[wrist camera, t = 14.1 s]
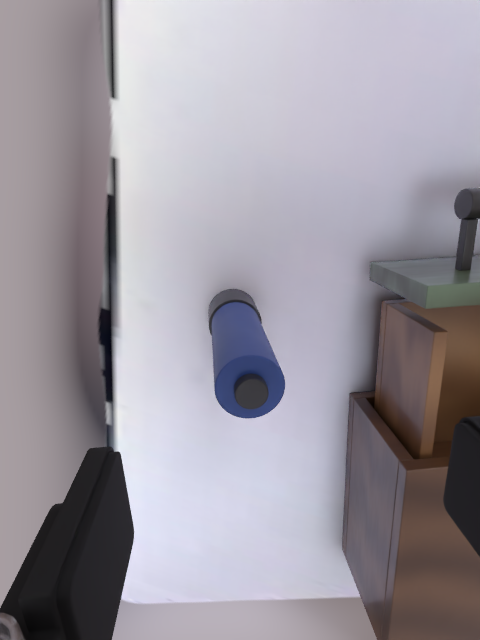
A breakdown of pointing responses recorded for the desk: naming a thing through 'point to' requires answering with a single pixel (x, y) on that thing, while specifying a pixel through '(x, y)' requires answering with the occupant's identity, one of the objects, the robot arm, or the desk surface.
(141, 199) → the desk surface
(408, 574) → the cabinet
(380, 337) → the drawer
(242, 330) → the marker
